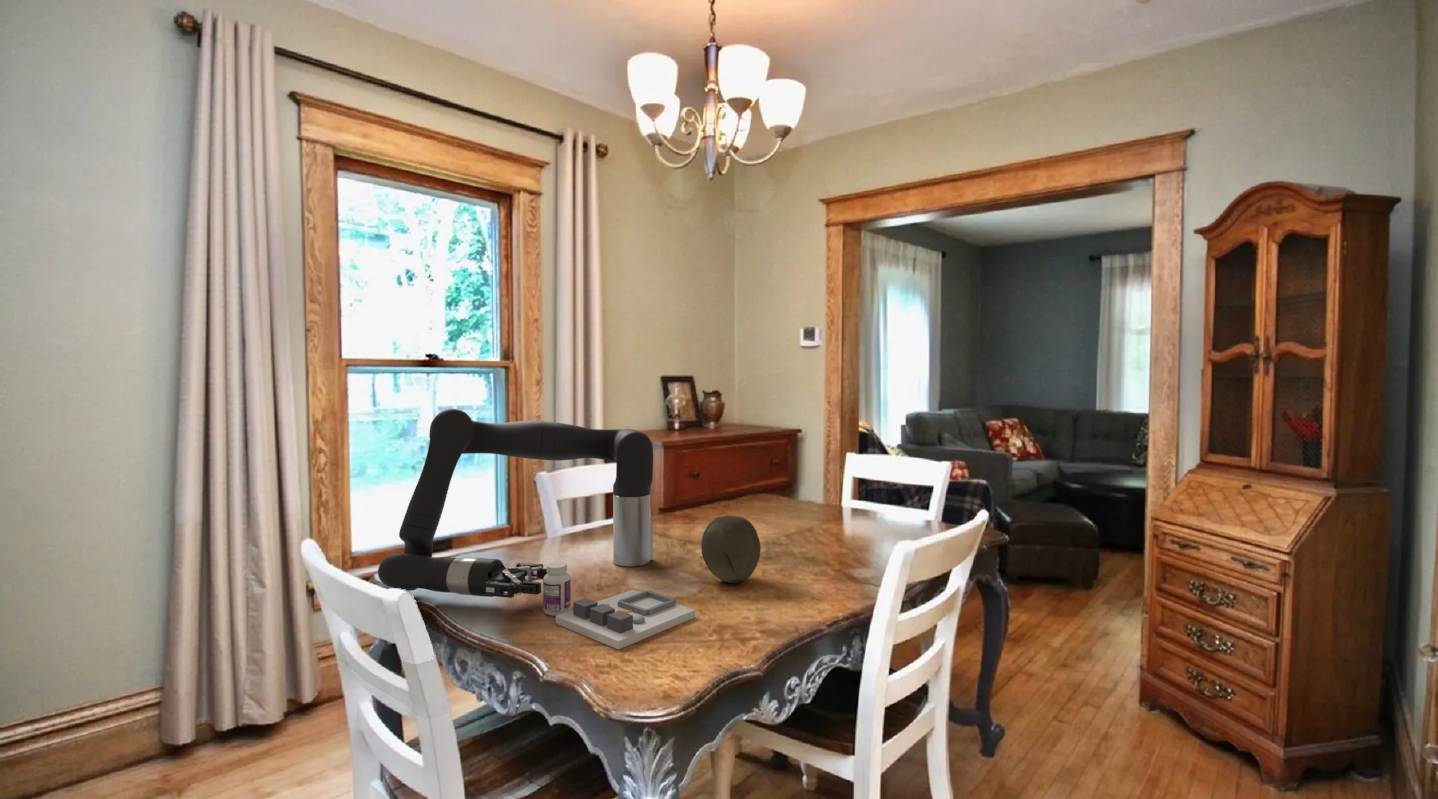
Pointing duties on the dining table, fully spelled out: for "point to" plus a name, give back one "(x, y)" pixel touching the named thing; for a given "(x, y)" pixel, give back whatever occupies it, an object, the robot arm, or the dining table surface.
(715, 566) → the dark grey rounded stone
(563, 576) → the pill bottle
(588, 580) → the dining table surface
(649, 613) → the board
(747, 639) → the dining table surface
